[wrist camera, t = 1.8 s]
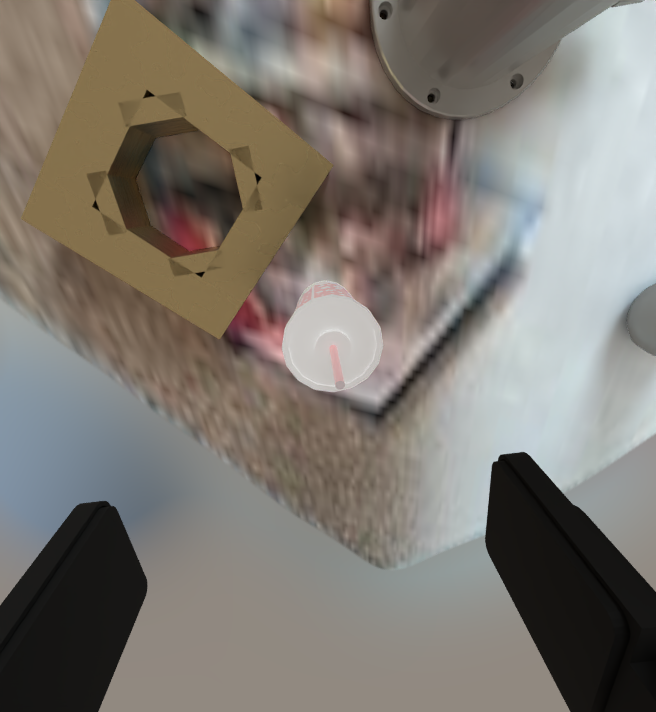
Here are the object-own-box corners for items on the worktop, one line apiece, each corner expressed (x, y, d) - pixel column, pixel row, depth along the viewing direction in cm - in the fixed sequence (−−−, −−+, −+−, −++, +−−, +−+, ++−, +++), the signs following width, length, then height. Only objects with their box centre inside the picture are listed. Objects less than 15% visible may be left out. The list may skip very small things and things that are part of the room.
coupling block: (147, 21, 23) (116, -15, 19) (329, 170, 26) (333, 165, 23) (60, 216, 27) (20, 218, 23) (229, 323, 30) (219, 339, 27)
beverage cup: (306, 353, 32) (307, 455, 19) (275, 289, 29) (252, 355, 17) (372, 326, 31) (420, 412, 18) (346, 258, 29) (378, 301, 16)
